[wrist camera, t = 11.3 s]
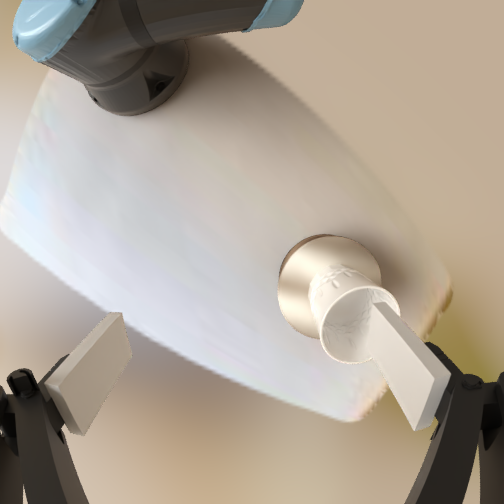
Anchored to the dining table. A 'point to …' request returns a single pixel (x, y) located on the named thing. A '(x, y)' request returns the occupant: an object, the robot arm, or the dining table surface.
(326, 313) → the white cup
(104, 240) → the dining table surface
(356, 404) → the dining table surface
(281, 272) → the cake stand
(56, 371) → the robot arm
